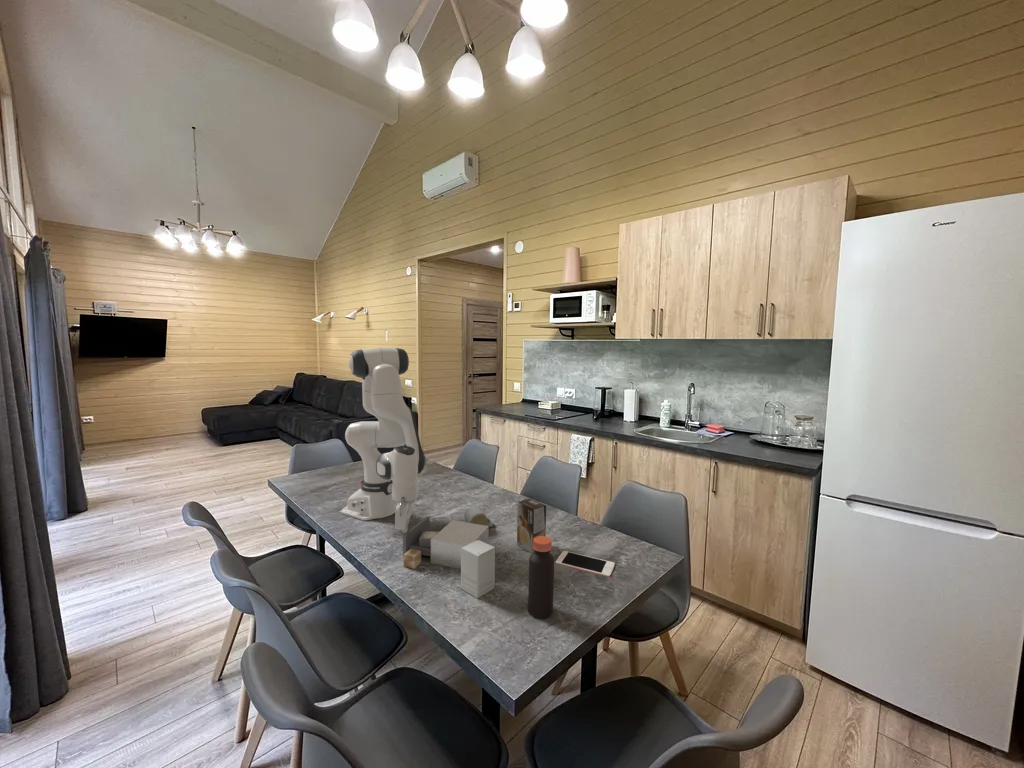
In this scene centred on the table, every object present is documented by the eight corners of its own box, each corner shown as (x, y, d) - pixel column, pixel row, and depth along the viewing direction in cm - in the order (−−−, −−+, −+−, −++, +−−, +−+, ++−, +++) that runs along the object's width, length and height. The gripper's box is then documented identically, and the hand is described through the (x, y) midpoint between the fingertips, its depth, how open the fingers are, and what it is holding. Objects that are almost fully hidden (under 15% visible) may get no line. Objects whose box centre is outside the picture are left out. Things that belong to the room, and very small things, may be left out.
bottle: (538, 622, 107) (540, 548, 105) (522, 609, 112) (524, 538, 111) (558, 613, 111) (560, 541, 109) (541, 600, 116) (543, 532, 114)
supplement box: (495, 588, 122) (496, 547, 121) (477, 599, 116) (477, 556, 115) (478, 578, 127) (478, 538, 126) (459, 588, 121) (460, 547, 120)
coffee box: (546, 549, 146) (547, 505, 145) (533, 554, 142) (534, 509, 140) (528, 539, 153) (529, 497, 152) (515, 544, 149) (516, 501, 147)
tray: (400, 555, 139) (400, 534, 138) (424, 535, 154) (424, 515, 153) (440, 563, 134) (440, 541, 133) (461, 542, 149) (461, 521, 149)
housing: (430, 562, 135) (430, 539, 134) (452, 541, 150) (452, 520, 150) (470, 570, 131) (470, 546, 130) (488, 547, 146) (488, 526, 145)
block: (403, 566, 133) (403, 554, 132) (410, 560, 136) (410, 548, 136) (414, 568, 131) (414, 556, 131) (421, 562, 135) (421, 550, 135)
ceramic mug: (470, 533, 157) (471, 513, 156) (463, 524, 164) (464, 506, 164) (496, 529, 161) (496, 510, 161) (488, 521, 169) (489, 503, 168)
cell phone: (609, 578, 129) (609, 575, 129) (554, 564, 136) (555, 561, 136) (615, 565, 137) (615, 562, 137) (563, 552, 144) (563, 550, 144)
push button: (419, 547, 141) (419, 538, 141) (423, 539, 147) (423, 530, 147) (436, 547, 141) (436, 538, 141) (440, 539, 147) (440, 531, 147)
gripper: (409, 503, 135) (410, 544, 137) (417, 483, 156) (417, 518, 157) (390, 504, 135) (390, 544, 136) (400, 483, 155) (400, 519, 156)
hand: (405, 530), depth 147 cm, fingers closed
